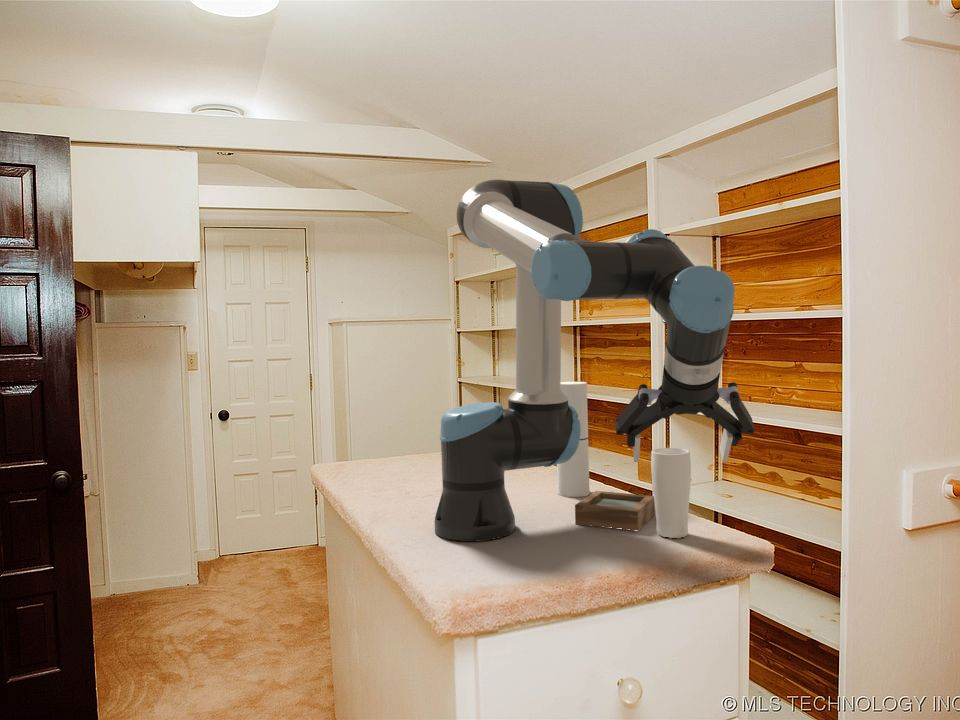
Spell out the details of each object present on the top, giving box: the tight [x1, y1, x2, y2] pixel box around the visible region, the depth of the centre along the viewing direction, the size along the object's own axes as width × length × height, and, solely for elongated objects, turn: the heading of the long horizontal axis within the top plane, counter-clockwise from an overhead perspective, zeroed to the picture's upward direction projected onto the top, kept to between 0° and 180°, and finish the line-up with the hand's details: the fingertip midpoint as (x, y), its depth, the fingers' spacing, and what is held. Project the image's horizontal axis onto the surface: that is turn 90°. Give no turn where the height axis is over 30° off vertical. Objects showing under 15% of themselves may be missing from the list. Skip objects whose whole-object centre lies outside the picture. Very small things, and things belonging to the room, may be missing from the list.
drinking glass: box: [650, 447, 692, 539], centre depth 117 cm, size 7×7×15 cm
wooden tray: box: [574, 490, 656, 531], centre depth 128 cm, size 12×12×4 cm
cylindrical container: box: [556, 381, 591, 498], centre depth 149 cm, size 7×7×25 cm
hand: (679, 455), depth 107 cm, fingers open, 13 cm apart
